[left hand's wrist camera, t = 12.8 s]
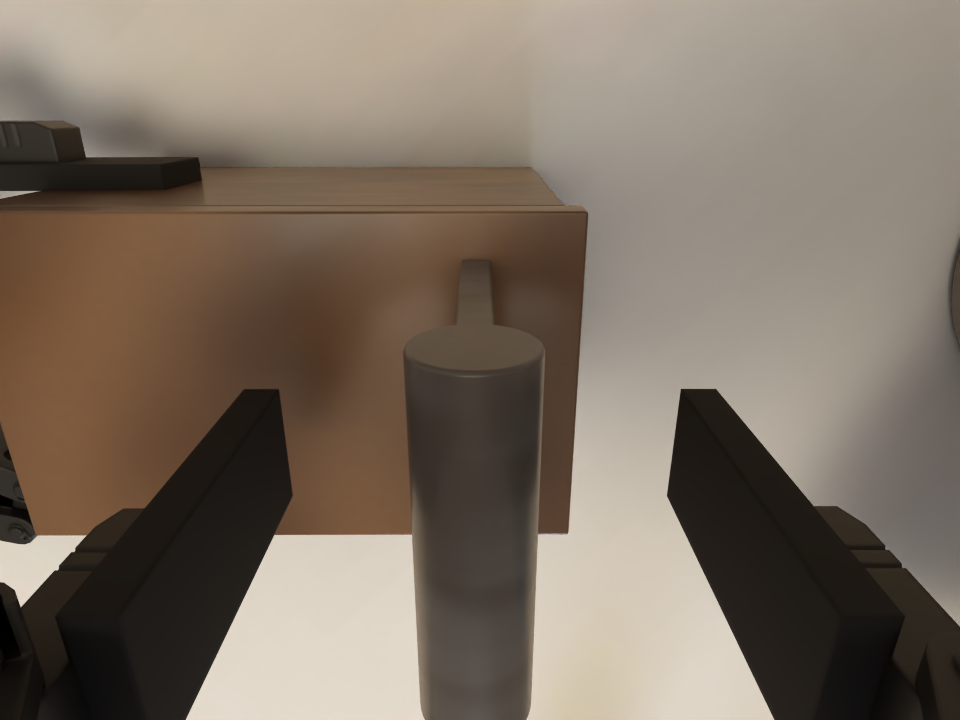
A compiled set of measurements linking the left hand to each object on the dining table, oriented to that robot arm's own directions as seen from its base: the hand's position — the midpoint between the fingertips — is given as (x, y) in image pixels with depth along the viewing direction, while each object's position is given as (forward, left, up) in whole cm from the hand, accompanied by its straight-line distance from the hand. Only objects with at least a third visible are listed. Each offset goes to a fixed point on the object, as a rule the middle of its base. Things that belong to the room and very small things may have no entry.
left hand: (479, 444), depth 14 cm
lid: (+5, -2, -4) cm, 6 cm away
